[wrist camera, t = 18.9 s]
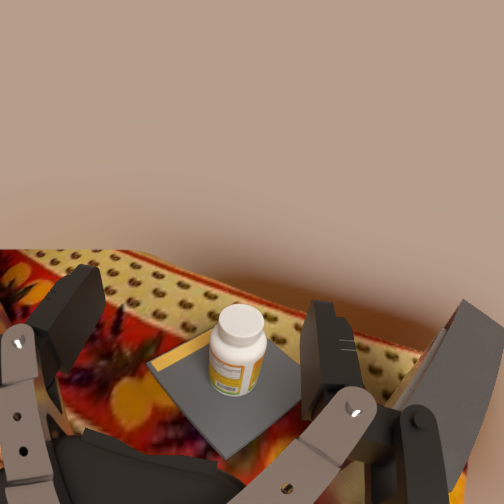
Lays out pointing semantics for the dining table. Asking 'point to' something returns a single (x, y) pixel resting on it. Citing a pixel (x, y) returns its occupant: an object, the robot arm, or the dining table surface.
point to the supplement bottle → (236, 350)
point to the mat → (222, 406)
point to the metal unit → (441, 395)
